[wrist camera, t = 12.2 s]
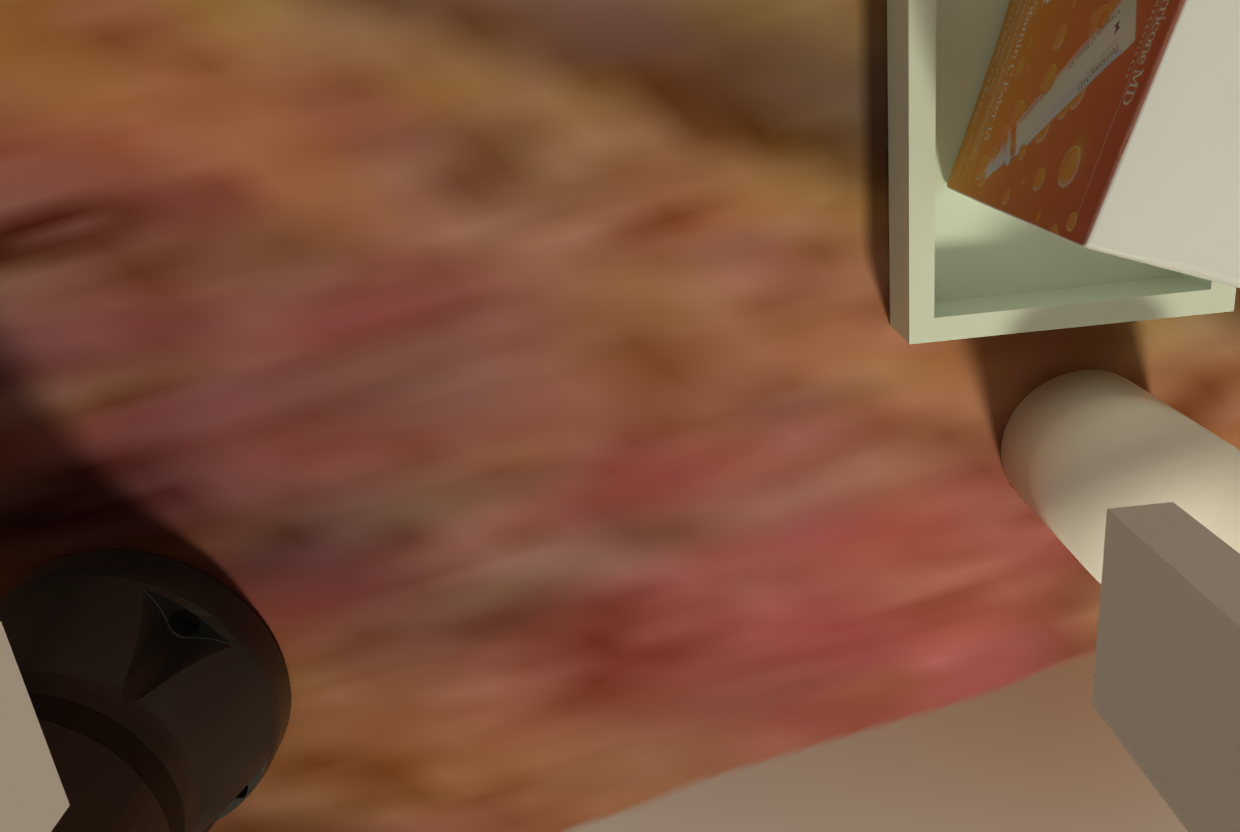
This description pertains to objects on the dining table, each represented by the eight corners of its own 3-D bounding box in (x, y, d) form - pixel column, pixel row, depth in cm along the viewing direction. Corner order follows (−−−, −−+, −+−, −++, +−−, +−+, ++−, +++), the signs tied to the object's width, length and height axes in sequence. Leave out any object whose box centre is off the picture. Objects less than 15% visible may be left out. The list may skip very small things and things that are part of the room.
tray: (890, 325, 43) (909, 344, 40) (885, -112, 37) (908, -126, 34) (1192, 293, 42) (1233, 311, 39) (1237, -153, 36) (1289, -171, 33)
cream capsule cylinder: (998, 518, 46) (1072, 609, 38) (1003, 377, 43) (1084, 445, 36) (1149, 504, 46) (1253, 592, 38) (1161, 362, 43) (1276, 426, 36)
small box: (1011, -21, 37) (1205, -57, 25) (1166, 20, 38) (1429, 6, 26) (939, 190, 40) (1082, 251, 28) (1084, 225, 40) (1286, 300, 28)
